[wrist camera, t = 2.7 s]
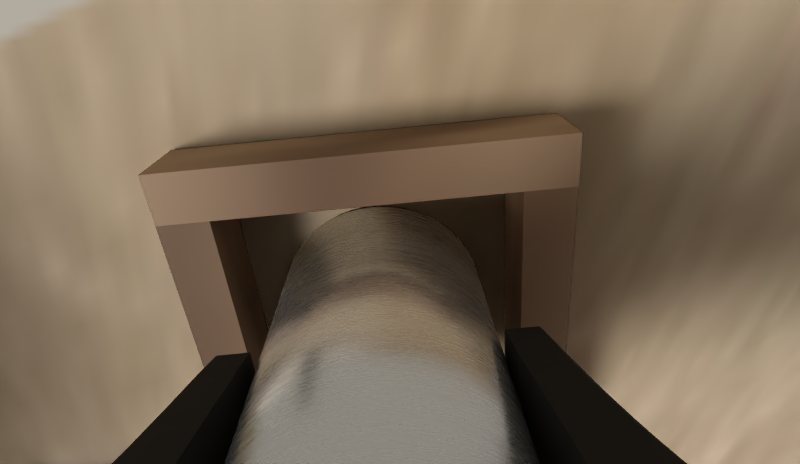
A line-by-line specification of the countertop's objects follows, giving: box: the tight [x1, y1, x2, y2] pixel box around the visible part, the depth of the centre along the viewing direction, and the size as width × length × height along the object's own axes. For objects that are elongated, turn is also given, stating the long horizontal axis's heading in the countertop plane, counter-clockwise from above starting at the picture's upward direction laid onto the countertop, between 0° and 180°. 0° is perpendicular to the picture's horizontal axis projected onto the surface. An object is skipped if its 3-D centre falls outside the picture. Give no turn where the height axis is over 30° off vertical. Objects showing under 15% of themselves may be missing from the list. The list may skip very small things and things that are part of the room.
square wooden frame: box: [138, 113, 583, 371], centre depth 11 cm, size 8×8×2 cm
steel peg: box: [225, 207, 540, 464], centre depth 9 cm, size 4×4×6 cm
